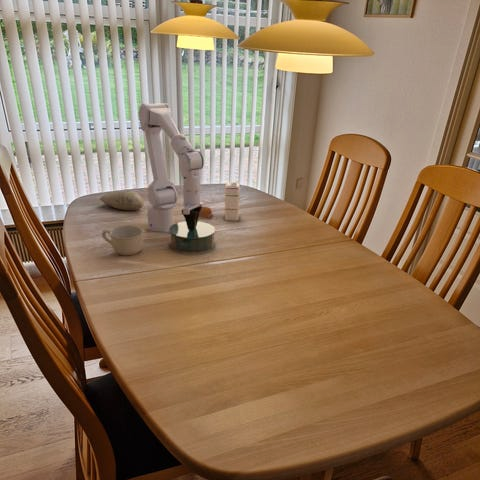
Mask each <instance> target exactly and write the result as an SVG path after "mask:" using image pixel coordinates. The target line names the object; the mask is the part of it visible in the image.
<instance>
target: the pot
mask: <svg viewBox="0 0 480 480" xmlns="http://www.w3.org/2000/svg"><path fill="white" fill-rule="evenodd" d="M170 246H171V248H173V249H174V250H175V251H178V252H181V253H188V254H199V253H204V252H208V251H210V250H211V249H213V247H214V246H215V233H214V234H213V235H211V236H209V237H206V238H202V239H184V238H179V237H176V236H174V235H172V234H171V233H170Z"/></svg>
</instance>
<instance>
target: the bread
mask: <svg viewBox="0 0 480 480" xmlns="http://www.w3.org/2000/svg"><path fill="white" fill-rule="evenodd" d="M212 215H213V210H212V209H211V208H210V207H209V206H204V205H203V206H202V209H201V211H200V213H199V217H198V218H205V219H210V218H211V217H212Z"/></svg>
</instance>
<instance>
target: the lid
mask: <svg viewBox="0 0 480 480" xmlns="http://www.w3.org/2000/svg"><path fill="white" fill-rule="evenodd" d="M169 231H170V232H169V233H170V235H171V234H172V235H174V236H176V237H179V238H184V239H202V238H206V237H209V236H211V235H213V234H214V235H215V233H216V228H215V226H214V225H212V224H210V223H207V222H204V221H198V222H197V226H196V221H195V228H194V230H189V229H188V227H187V224H186V221H180V222H176V223H174V225H172V226H171V227H170V229H169Z"/></svg>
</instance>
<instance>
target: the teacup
mask: <svg viewBox="0 0 480 480" xmlns="http://www.w3.org/2000/svg"><path fill="white" fill-rule="evenodd" d="M143 233H144V230H143V228H141V227H140V226H138V225H133V224H122V225H117V226H114V227H112V228H111V229H108V228H105V229H104V230H103V231H102V232H101V237H102V239H103V240H104V241H105V242H107V243H108V244H110V245H111V247H112V249H113V251H114V252H116V253H117V254H118V255H121V256H133V255H136V254H138V253H139V252H141V250H143V247H144V237H143V236H144V234H143ZM106 234H108V235H109V237H110V238H108V236H107V235H106Z"/></svg>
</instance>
